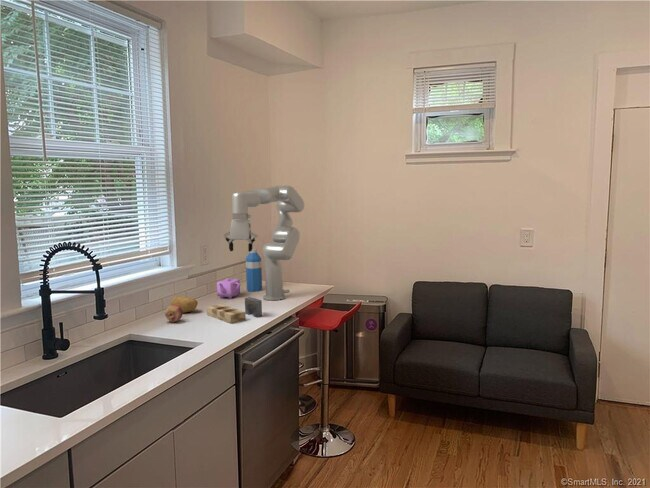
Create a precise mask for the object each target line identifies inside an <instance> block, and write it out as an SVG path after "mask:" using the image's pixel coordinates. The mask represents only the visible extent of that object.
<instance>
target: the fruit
mask: <svg viewBox="0 0 650 488" xmlns="http://www.w3.org/2000/svg"><path fill="white" fill-rule="evenodd" d="M164 316H165V318H166V319H167V320H168V321H169V322H171V323H177V322H179V320H181V318H182V317H183V313H182V309H181V307H180V306H178V305H172V304H170V305H169V306H168V307H167V308H166V309H165V312H164Z"/></svg>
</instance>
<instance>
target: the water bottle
mask: <svg viewBox="0 0 650 488" xmlns="http://www.w3.org/2000/svg"><path fill="white" fill-rule="evenodd" d="M257 251H258V250H257V248H252V251H250V252H249V253H248V255H247V256H246V257H245V273H246V274H245V275H246V277H245V278H246V291H247V292H251V293H252V292H260V291H263V277H262V276H263V275H262V273H263V272H262V270H263V269H262V257H261V256H260V255H259V253H258V252H257Z"/></svg>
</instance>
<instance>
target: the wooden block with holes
mask: <svg viewBox="0 0 650 488" xmlns="http://www.w3.org/2000/svg"><path fill="white" fill-rule="evenodd" d="M206 315H207V316H208V317H211V318H214V319H217V320H220V321H223V322H226V323H228V324H235V323H239V322H243V321H246V314H245V311H243V310H241V309H237V308H234V307H231V306H228V305H225V304H221V303H220V304H215V305H211V306H210V305H209V306H207V307H206Z"/></svg>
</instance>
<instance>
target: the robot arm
mask: <svg viewBox="0 0 650 488" xmlns="http://www.w3.org/2000/svg"><path fill="white" fill-rule="evenodd" d="M231 197H232V199H231V200H232V203H231V204H232V220H231V221H230V229H229V231H228V232H226V233H224V234H223V238H224V239H225V241H226V242H227V243H228V249H229V251H230V252H233V251H234V243H233V242H234V241H236V240H239V241H242V240H243V241H247V242H248V247H247V248H248V252H249V253H250V251H252V249H253V243H254V242H255V241H256V240H257V238H258V234H257V233H255V232H253V231H252V224H251V220H250V219H251V215H250V214H249V211H248V209H249V208H255V207H258V206H260V205H268V204H271V203H275V202H276V204H275V205H276V206H275V207H276V211H277V216H278V220H277V222H276V225H275V227H274V229H273V232H272V233H271V234H272V235H271V239H272V241H269V242H267V243H265V244H264V245H263V247H262V256H263V260H264V261H263V262H264V272H265V275H264V277H265V278H264V279H265V295H263V296H262V297H263V298H262V299H263V300H264V301H265V300H266V301H271V300H274V301H281V300H280V299H282V300H284V298H285V297H287V296H286V295H285V294H289V293H290V289H285V288H284V287H283V285H284V284H283V281H284V280H283V265H282V263H281V261H289V260H291V259H292V258H293V256H294V254H295V251H296V249H297V247H298V244H299V241H300V238H301V236H300V231H299V229H298V228H297V227H294V226H293V224H294V223H293V219H292V217H291V214H290V213H301V212H303V210H304V209H305V201H304V199H303V197H302V196H301V195H300V194H299V192H298V191H297V189H295V188H294V187H293V186H292V185H273V186H269V187H264V188H263V187H262V188H257V189H251V190H250V189H249V190H244V191H239V192H233V193H232V196H231ZM249 218H250V219H249ZM252 236H253V238H252ZM229 237H230V238H229ZM285 299H286V298H285Z"/></svg>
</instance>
